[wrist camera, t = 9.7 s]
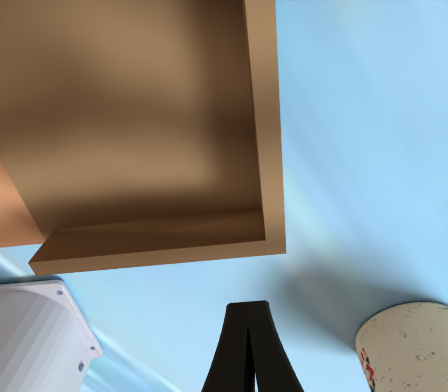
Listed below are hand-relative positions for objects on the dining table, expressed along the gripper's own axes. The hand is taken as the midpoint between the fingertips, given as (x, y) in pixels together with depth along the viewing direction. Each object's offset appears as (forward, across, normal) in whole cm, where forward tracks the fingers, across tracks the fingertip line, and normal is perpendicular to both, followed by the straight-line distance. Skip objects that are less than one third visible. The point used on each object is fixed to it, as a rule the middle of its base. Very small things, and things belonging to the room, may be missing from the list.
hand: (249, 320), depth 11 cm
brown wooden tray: (+9, +10, -5) cm, 14 cm away
